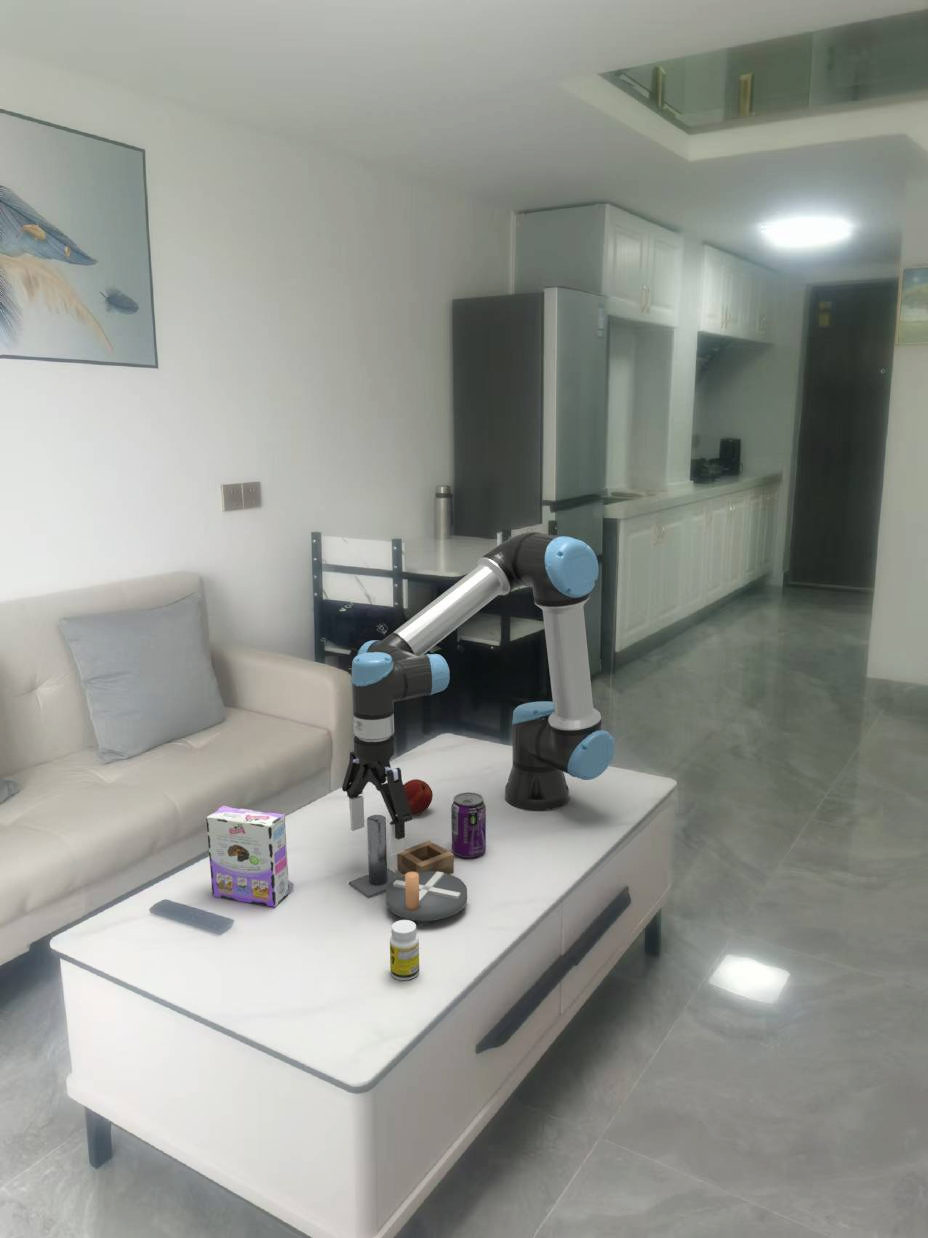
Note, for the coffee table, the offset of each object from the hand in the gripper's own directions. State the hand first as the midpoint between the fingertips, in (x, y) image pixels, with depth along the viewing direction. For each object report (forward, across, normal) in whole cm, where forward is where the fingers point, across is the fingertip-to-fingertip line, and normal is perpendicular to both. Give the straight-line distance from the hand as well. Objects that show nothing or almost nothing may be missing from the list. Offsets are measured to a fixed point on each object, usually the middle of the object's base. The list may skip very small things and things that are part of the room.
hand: (376, 840), depth 177 cm
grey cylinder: (+8, 0, 0) cm, 8 cm away
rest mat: (+9, 0, 0) cm, 9 cm away
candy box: (+9, -12, -21) cm, 26 cm away
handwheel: (+7, +13, +2) cm, 15 cm away
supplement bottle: (+9, +27, -13) cm, 31 cm away
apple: (+9, -22, +25) cm, 35 cm away
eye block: (+9, +2, +10) cm, 14 cm away
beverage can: (+9, +1, +22) cm, 24 cm away
